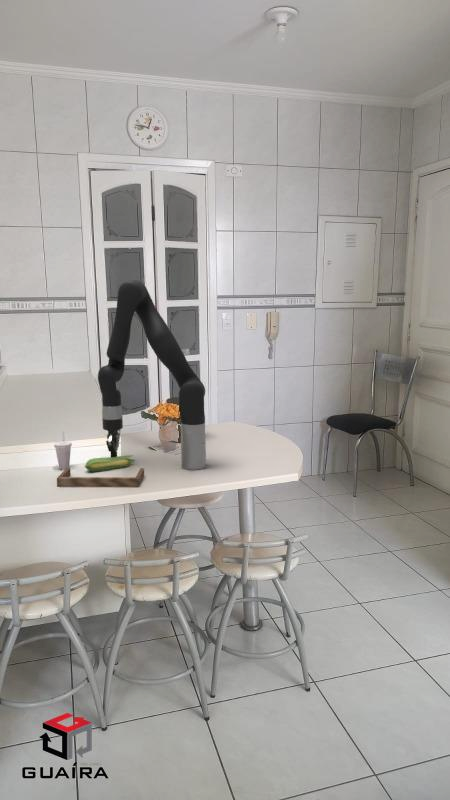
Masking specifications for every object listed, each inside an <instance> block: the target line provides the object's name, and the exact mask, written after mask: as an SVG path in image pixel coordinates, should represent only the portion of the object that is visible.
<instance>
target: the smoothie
mask: <svg viewBox="0 0 450 800" xmlns="http://www.w3.org/2000/svg"><path fill="white" fill-rule="evenodd" d="M53 444H54V447H53V448H55V453H56V458H57V463H58V464H57V465H58V469H59V470H65V469H66V468H70V463H71V452H72V451H71V449H72V448H71V447H72V445H73V444H72V441H68V440H65V432H64V431H62V441H57V442H55V443H53Z"/></svg>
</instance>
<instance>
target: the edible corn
mask: <svg viewBox="0 0 450 800" xmlns="http://www.w3.org/2000/svg"><path fill="white" fill-rule="evenodd" d="M134 456H135V455H133V454H129V455H120V456H117V457H111V456H109V457H95V458H91V459H88V460H87V461H86V463H85V465H84V468H85V469H87V471H89V472H91V473H97V471H98V472H103V470H104V471H110V470H116V469H122V468H129V467H131V466H133V465H134V464H133V463H134V462H136V460H135V459H133V458H132V457H134Z"/></svg>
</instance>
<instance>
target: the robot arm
mask: <svg viewBox="0 0 450 800" xmlns="http://www.w3.org/2000/svg"><path fill="white" fill-rule="evenodd" d="M135 313H136V315H137V316H138V318H139V320H140V322H141V324H142V327H143V331H144V335H145V337H146V339H147V342H148V344H149V346H150V348H151V350H152V351H153V352H154V354H155V356H156V357H157V359H159V361H160V362H161V363H162V364H163V365H164V366H165V368H166V369H167V370H168V371H169V372H170V373H171V375H172V376H173V378H174V379H175V381H176V383H177V385H178V388H179V392H178V397H179V412H180V420H181V443H180V463H181V464H180V465H181V468H182V469H184V470H191V471H192V470H193V471H197V470H202V469H204V470H205V469H206V466H207V450H206V449H207V442H206V415H205V395H206V388H205V385H204V384H203V382H202V381H201V379H200V378H199V377H198V375H197V374H196V373H195V371H194V370H193V369H192V368H191V365H190V363H189V362H188V360H187V358H186V356H185V354H184V352H183V350H182V348H181V347H180V345H179V343H178V341H177V339H176V338H175V336H174V334H173V333H172V331H171V329H170V328H169V327H168V325H167V323H166V322H165V320H164V318H163V317H162V315H161V314H160V312H159V311H158V309H157V308H156V305H155V303H154V302H153V300H152V298H151V295H150V293H149V291H148V289H147V287H146V285H145V284H144V283H143V282H142V281H140V280H135V279H131V280H126V281H124V282H121V284H120V286H119V288H118V291H117V300H116V310H115V316H114V322H113V327H112V330H111V335H110V339H109V342H108V346H107V349H106V356H107V358H108V362H107V365H104V366H102V367H101V368H99V370H98V372H97V381H98V382H97V383H98V386H99V389H100V392H101V403H102V408H101V417H102V418H101V419H102V420H101V421H102V429H103V431H107V434H106V439H107V440H106V441H105V443H106V446H107V449H108V452H110V457H118V449H119V445H120V436H121V433H120V432H119V431H120V430H122V429H123V428H124V425H123V423H124V422H123V408H122V396H121V395H122V394H121V391H120V390H118V389H117V384H116V383H118V382H119V381H121V380H122V378H123V375H124V373H125V362H126V359H125V358H126V355H127V352H128V348H129V344H130V339H131V329H132V327H131V326H132V323H133V322H132V320H133V317H134V314H135Z"/></svg>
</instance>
